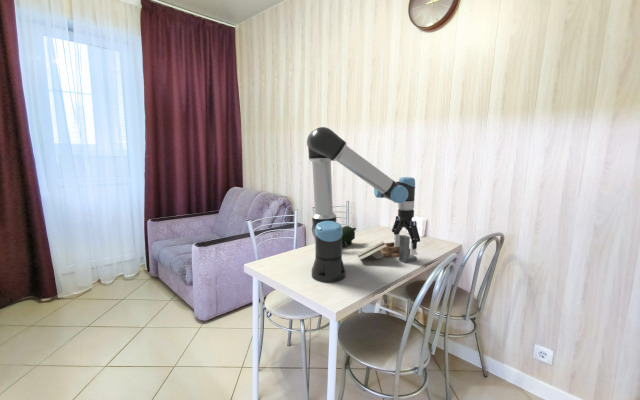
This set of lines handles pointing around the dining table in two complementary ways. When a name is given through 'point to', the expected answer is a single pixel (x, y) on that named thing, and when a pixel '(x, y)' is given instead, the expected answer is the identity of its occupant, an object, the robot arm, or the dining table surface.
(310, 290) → the dining table surface
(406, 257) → the bracket
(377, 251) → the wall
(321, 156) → the robot arm
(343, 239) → the toy figurine
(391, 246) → the brown wooden flat frame
